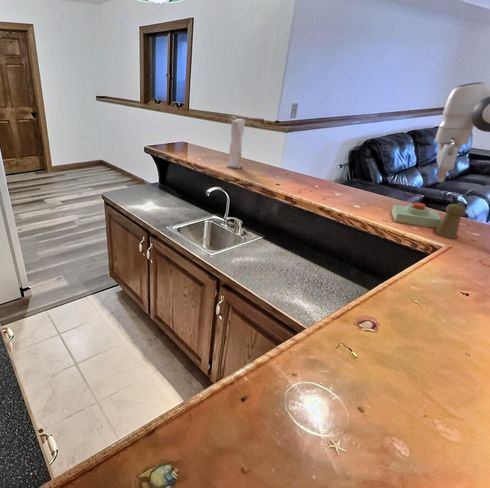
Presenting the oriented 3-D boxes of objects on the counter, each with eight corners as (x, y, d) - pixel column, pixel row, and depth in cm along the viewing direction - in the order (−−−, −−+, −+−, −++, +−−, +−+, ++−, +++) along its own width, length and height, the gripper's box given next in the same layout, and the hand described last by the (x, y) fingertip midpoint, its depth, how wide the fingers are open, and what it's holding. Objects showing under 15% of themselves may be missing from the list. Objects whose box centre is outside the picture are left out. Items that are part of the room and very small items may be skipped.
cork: (439, 237, 120) (451, 207, 116) (432, 230, 126) (443, 201, 121) (459, 239, 119) (472, 208, 114) (451, 232, 124) (463, 202, 120)
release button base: (432, 218, 136) (437, 206, 134) (438, 228, 127) (443, 215, 125) (391, 212, 141) (395, 200, 139) (394, 221, 133) (398, 209, 130)
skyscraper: (225, 167, 203) (230, 116, 191) (227, 164, 210) (232, 115, 198) (240, 168, 201) (245, 117, 188) (241, 165, 208) (247, 115, 195)
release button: (423, 207, 133) (424, 203, 132) (425, 211, 130) (426, 206, 129) (410, 206, 135) (412, 201, 134) (412, 209, 131) (414, 205, 131)
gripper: (468, 141, 105) (453, 186, 110) (461, 135, 120) (448, 175, 126) (442, 139, 108) (428, 183, 113) (439, 134, 123) (427, 173, 129)
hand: (439, 179), depth 120 cm, fingers open, 8 cm apart
